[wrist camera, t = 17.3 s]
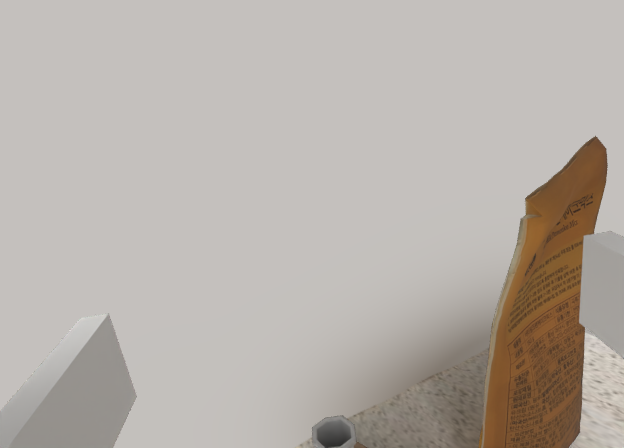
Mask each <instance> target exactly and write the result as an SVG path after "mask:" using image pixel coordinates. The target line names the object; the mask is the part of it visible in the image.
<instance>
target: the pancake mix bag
mask: <svg viewBox="0 0 624 448" xmlns="http://www.w3.org/2000/svg"><path fill="white" fill-rule="evenodd" d="M606 176H607V154H606V148H605V147H604V146H603V144H602V143H601V142H600V141H599V139H598V138H597V137H596V136H595V137H593V138H592V139H591V140H589V141H588V142H586V143H585V144H584V145H583V146H582V147H581V148H580V149H579V150H578V151H577V152H576V153H575V155H574V156H573V157H572V158H571V159H570V161H569V162H568V163H567V164H566V165H565V166H564V168H563V169H562V170H561V171H559V172H558V173H557V174H556V175H554V176H553V177H552V178H551V179H550V180H549V181H548V182H547V183H545V184H544V185H542V186H540V187H539V188H537V189H536V190H535V191H534V192H532V193H531V194H530V195H529V196H527V197H526V198H525V200H526V201H525V202H526V215H525V216H524V217H523V218H522V219H521V221H520V227H519V234H518V240H517V245H516V249H515V252H514V255H513V258H512V261H511V264H510V267H509V271H508V274H507V276H506V279H505V282H504V286H503V288H502V292H501V295H500V298H499V301H498V304H497V308H496V311H495V316H494V319H493V323H492V330H491V337H490V346H489V356H488V366H487V372H486V378H485V386H484V406H483V425H482V429H481V434H480V440H479V447H478V448H568V447H569V446H570V445H571V444H572V442H573V441H574V440H575V439H576V437H577V436H578V434H579V433H580V419H581V408H582V377H583V363H584V337H585V327H584V326H583V325H581V324H580V323H579V313H580V295H581V277H582V258H583V240H584V236H585V235H591V234H594V229H595V224H596V220H597V215H598V212H599V208H600V204H601V200H602V196H603V192H604V188H605V184H606Z"/></svg>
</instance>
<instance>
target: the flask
mask: <svg viewBox="0 0 624 448" xmlns="http://www.w3.org/2000/svg"><path fill="white" fill-rule="evenodd" d="M312 431H313V432H312V439H313V445H314V446H315V447H316V448H354V445H355V444H356V433H355V426H354V424H353V423H352V422H350V421H349V420H348V419H346V418H345V417H344V416H335V417H327V418H324V419H323V420H322V421H320V422H319V423H318V424H316V425H315V426H313V427H312Z"/></svg>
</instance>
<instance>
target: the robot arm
mask: <svg viewBox="0 0 624 448" xmlns="http://www.w3.org/2000/svg"><path fill="white" fill-rule="evenodd" d="M579 323H580V324H581V325H583V326H584V327H585V328H586V329H588V330H589V331H590V332H591V333H593V334H594V335H595V336H596V337H597V338H599V339H600V340H601V341H602V342H604V343H605V344H606V345H607V346H609V347H610V348H611V349H612V350H614V351H615V352H616V353H617V354H619V355H620V356H621V357H622V358H623V359H624V237H623V236H621V235H618V234H616V233H614V232H612V231H609V232H603V233H597V234H591V235H585V236H584V240H583V258H582V277H581V295H580V313H579ZM136 397H137V396H136V393H135V390H134V387H133V384H132V381H131V378H130V375H129V372H128V369H127V366H126V363H125V360H124V357H123V354H122V351H121V348H120V345H119V342H118V339H117V337H116V334H115V330H114V328H113V325H112V322H111V319H110V316H109V314H102V315H96V316H91V317H85V318H80V319H79V320H78V322H77V323H76V324H75V325H74V326H73V327H72V329H71V330H70V331H69V332H68V333H67V335H66V336H65V337H64V338H63V339H62V340H61V341H60V343H59V344H58V345H57V346H56V347H55V348H54V349H53V351H52V352H51V353H50V354H49V355H48V356H47V358H46V359H45V360H44V361H43V362H42V363H41V365H40V366H39V367H38V368H37V369H36V370H35V371H34V373H33V374H32V375H31V376H30V377H29V378H28V380H27V381H26V382H25V383H24V384H23V385H22V387H21V388H20V389H19V390H18V391H17V392H16V394H15V395H14V396H13V397H12V398H11V399H10V400H9V402H8V403H7V404H6V405H5V406H4V408H3V409H2V410H1V411H0V448H113V446H114V444H115V442H116V440H117V437H118V435H119V433H120V431H121V429H122V427H123V425H124V423H125V420H126V418H127V416H128V414H129V411H130V410H131V407H132V405H133V403H134V401H135V399H136Z"/></svg>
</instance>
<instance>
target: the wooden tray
mask: <svg viewBox="0 0 624 448" xmlns="http://www.w3.org/2000/svg"><path fill="white" fill-rule="evenodd" d="M354 448H367V447H365V446H364V445H362V444H360V443H359V442H357V441H356V444H355V445H354Z"/></svg>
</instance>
